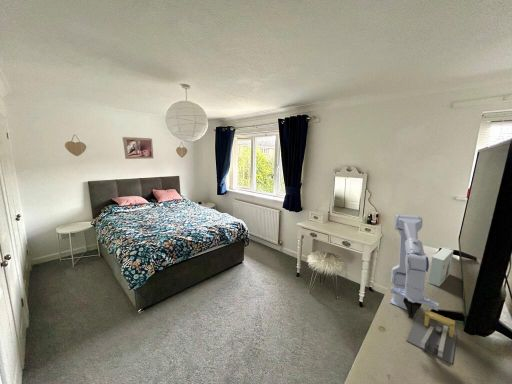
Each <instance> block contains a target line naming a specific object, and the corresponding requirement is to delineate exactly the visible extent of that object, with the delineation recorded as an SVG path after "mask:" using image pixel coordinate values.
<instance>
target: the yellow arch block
mask: <svg viewBox="0 0 512 384" xmlns="http://www.w3.org/2000/svg"><path fill="white" fill-rule="evenodd" d="M430 319H432V320H435V321H437V322H440V323H442V324H444V325H446V326H448V327H449V329H448V330H449V336H450V337H452V338H453V334H454V332H455V326H456V320H453V319H451V318H449V317H445V316H444V315H441V314H439V313H436V312H433V311H431V310H428V309H426V310H425V313H424V325H425V326H427V327H428V324H429V322H430Z"/></svg>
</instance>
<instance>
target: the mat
mask: <svg viewBox="0 0 512 384" xmlns="http://www.w3.org/2000/svg"><path fill="white" fill-rule="evenodd" d="M424 320H425V318H422V317H420V316H415V319H414V321H413V323H412V327H411V329H410V330H409V331H410V332H409V333H408V336H407V339H406V342H407V343H409V344H411V345H413V346H415V347H417V348H419V349H421V350H423V351H425V352H427V353H429V354H431V355H433V356H435V357H437V358H439V359H441V360H443V361H445V362H447V363H449V364H451V365H452V364H453V360H454V355H455V346H456V341H457V335H458V333H457V332H456V331H454V334H453V338H452V337H450V336H449V330H450V329H448V331H447V336H446V341H445V346H444V351H443V356H442V358H441V357H439V356H437V355H435V354H434V347H435V344H437V345H440V340H441V336H442V335H438V334H436V333H435V329H436V326H439V327H441V328H442V332H443V327H444V326H440V325H438V324H437V323H436V324H435V323H434V322H431V321H429V324H428V327H427V326H425V325H424ZM430 326H432V327H434V331H433V334H432V336H431V338H430V340H429V342H430V346H429V349H428V351H427V350H425V349H423V348H422V347H420V346H421V341H422V339H423V337H424V336H425V334H426V332H427V331H428V329H429V328H430Z"/></svg>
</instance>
